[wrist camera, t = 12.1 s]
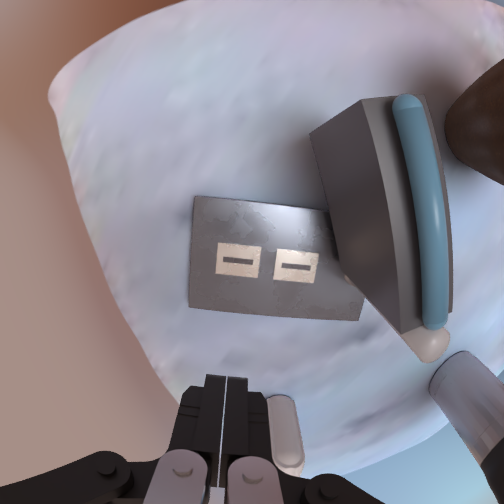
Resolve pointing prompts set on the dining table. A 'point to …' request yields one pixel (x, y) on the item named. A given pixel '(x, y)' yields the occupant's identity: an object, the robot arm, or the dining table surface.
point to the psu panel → (268, 261)
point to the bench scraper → (391, 214)
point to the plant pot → (480, 125)
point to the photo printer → (285, 435)
